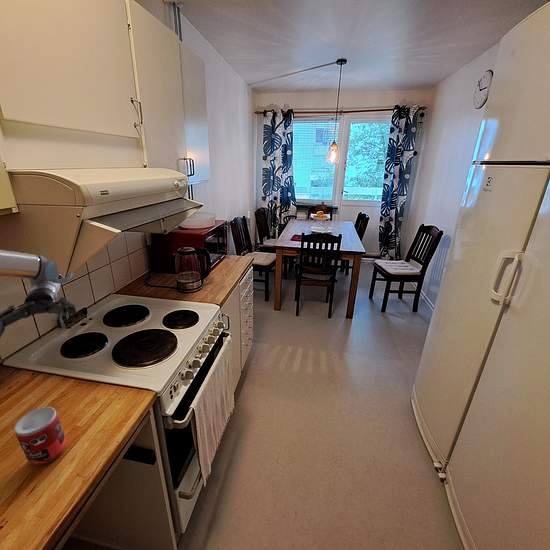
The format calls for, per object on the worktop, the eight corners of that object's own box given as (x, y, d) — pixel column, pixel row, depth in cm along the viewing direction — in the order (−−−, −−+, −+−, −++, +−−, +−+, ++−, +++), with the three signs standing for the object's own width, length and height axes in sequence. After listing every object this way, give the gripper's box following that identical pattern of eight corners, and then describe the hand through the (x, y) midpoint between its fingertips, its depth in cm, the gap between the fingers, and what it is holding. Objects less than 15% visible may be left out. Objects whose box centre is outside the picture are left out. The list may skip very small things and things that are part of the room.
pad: (28, 465, 70) (26, 462, 70) (46, 443, 76) (45, 440, 76) (52, 466, 70) (51, 463, 70) (69, 443, 76) (67, 440, 76)
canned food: (20, 462, 70) (5, 430, 66) (51, 434, 77) (39, 403, 73) (45, 470, 68) (31, 437, 64) (74, 440, 76) (63, 409, 71)
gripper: (89, 300, 100) (86, 330, 83) (-5, 317, 89) (-31, 356, 71) (84, 281, 97) (80, 307, 80) (-14, 295, 86) (-43, 330, 69)
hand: (28, 330), depth 76 cm, fingers open, 13 cm apart
